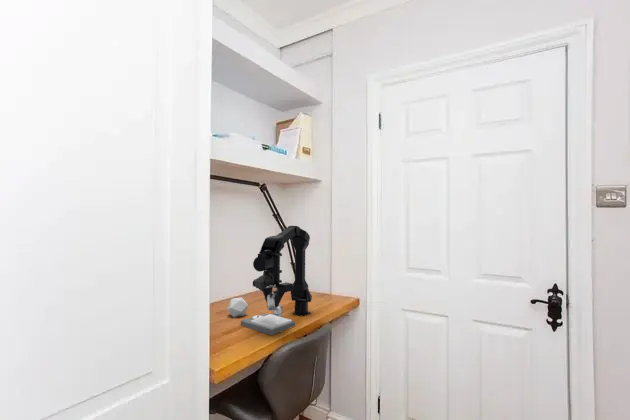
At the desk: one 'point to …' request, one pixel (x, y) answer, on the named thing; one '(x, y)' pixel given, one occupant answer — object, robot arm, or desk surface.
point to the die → (237, 307)
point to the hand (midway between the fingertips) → (272, 305)
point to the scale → (267, 323)
